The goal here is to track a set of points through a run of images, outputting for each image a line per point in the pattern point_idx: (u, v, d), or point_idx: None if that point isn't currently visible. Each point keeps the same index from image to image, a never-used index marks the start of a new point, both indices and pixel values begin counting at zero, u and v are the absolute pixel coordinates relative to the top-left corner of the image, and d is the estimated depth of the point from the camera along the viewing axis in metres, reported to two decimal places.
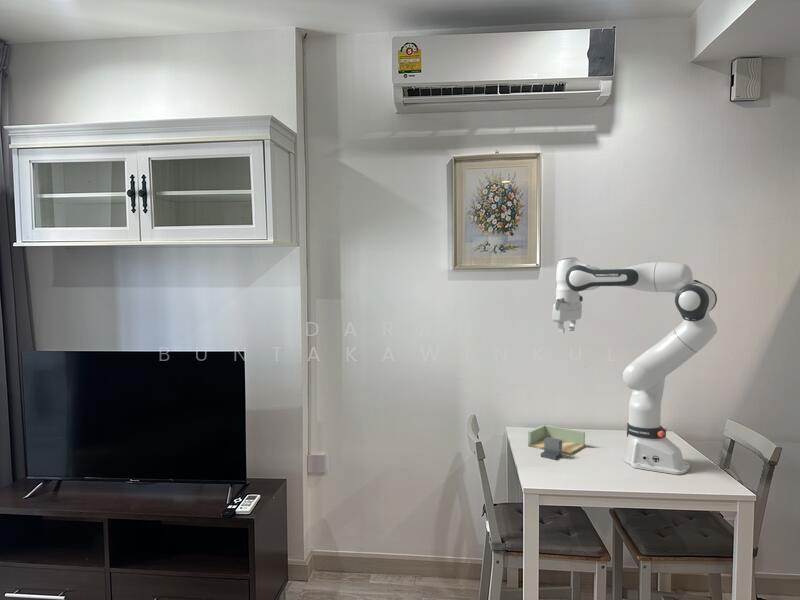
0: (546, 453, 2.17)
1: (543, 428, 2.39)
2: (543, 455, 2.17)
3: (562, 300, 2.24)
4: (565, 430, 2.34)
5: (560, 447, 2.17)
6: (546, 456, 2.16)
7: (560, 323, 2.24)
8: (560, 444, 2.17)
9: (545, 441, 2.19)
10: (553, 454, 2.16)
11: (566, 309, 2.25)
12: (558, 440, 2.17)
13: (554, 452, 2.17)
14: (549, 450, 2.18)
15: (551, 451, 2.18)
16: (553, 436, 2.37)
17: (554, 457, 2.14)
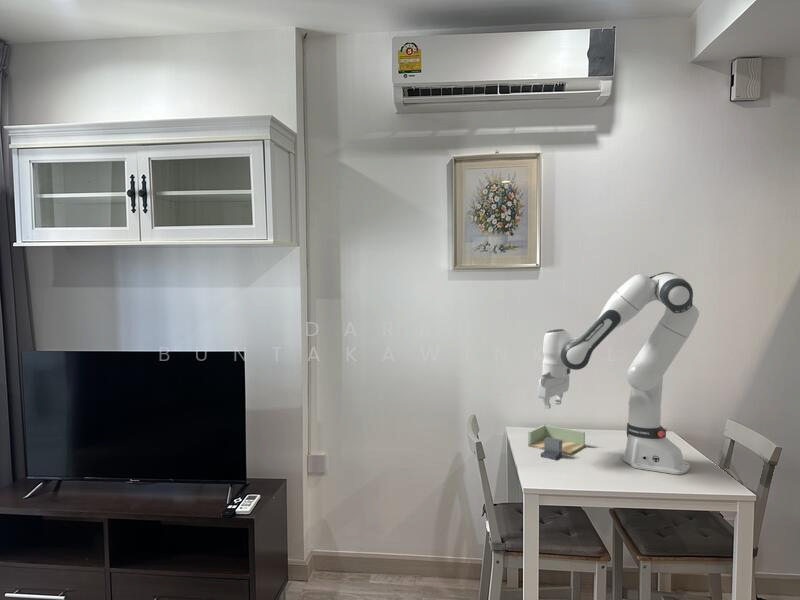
0: (546, 453, 2.17)
1: (543, 428, 2.39)
2: (543, 455, 2.17)
3: (548, 375, 2.13)
4: (565, 430, 2.34)
5: (560, 447, 2.17)
6: (546, 456, 2.16)
7: (546, 399, 2.13)
8: (560, 444, 2.17)
9: (545, 441, 2.19)
10: (553, 454, 2.16)
11: (552, 384, 2.14)
12: (558, 440, 2.17)
13: (554, 452, 2.17)
14: (549, 450, 2.18)
15: (551, 451, 2.18)
16: (553, 436, 2.37)
17: (554, 457, 2.14)
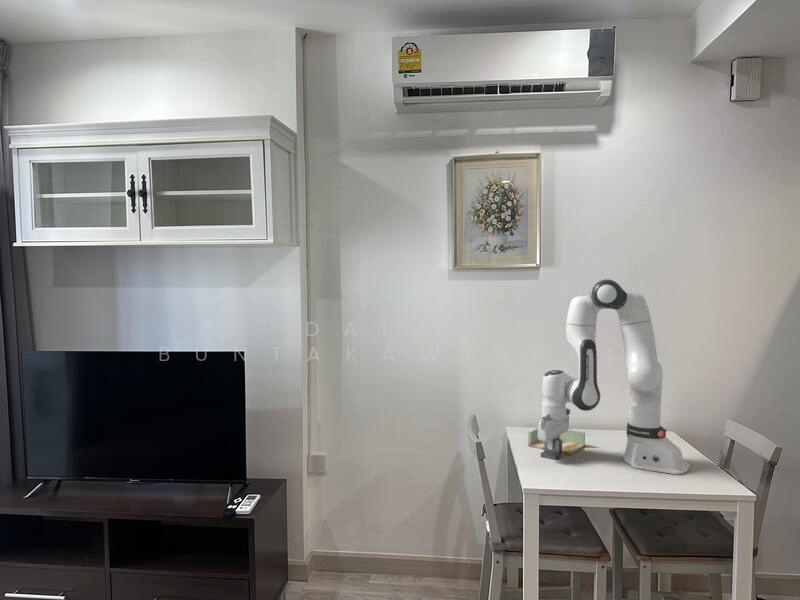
0: (546, 453, 2.17)
1: None
2: (543, 455, 2.17)
3: (548, 417, 2.14)
4: None
5: (560, 447, 2.17)
6: (546, 455, 2.16)
7: (549, 440, 2.15)
8: (560, 444, 2.17)
9: None
10: (553, 454, 2.16)
11: (552, 426, 2.14)
12: (558, 440, 2.17)
13: (554, 452, 2.17)
14: (549, 450, 2.18)
15: (551, 451, 2.18)
16: None
17: (554, 457, 2.14)
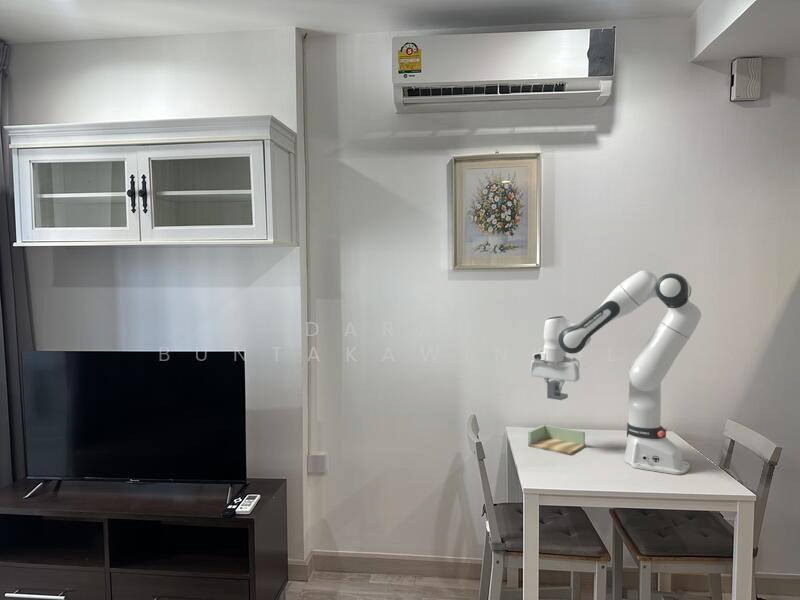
0: (560, 395, 2.26)
1: (543, 428, 2.39)
2: (562, 397, 2.25)
3: None
4: (565, 430, 2.34)
5: None
6: (564, 397, 2.26)
7: (563, 381, 2.27)
8: None
9: (554, 385, 2.26)
10: (561, 394, 2.29)
11: None
12: (556, 380, 2.31)
13: (558, 392, 2.29)
14: (556, 392, 2.28)
15: (557, 392, 2.28)
16: (553, 436, 2.37)
17: (567, 395, 2.29)
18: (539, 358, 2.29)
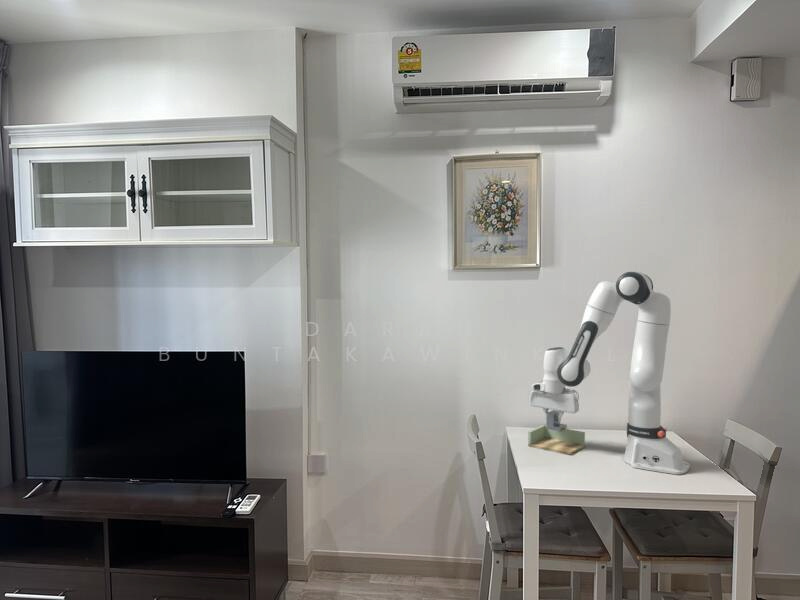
0: (559, 426, 2.27)
1: (543, 428, 2.39)
2: (561, 428, 2.26)
3: None
4: (565, 430, 2.34)
5: None
6: (563, 428, 2.27)
7: (563, 412, 2.27)
8: None
9: (554, 416, 2.27)
10: (561, 424, 2.29)
11: None
12: (556, 411, 2.31)
13: (558, 423, 2.30)
14: (555, 423, 2.28)
15: (556, 423, 2.29)
16: (553, 436, 2.37)
17: (566, 426, 2.29)
18: (538, 389, 2.30)
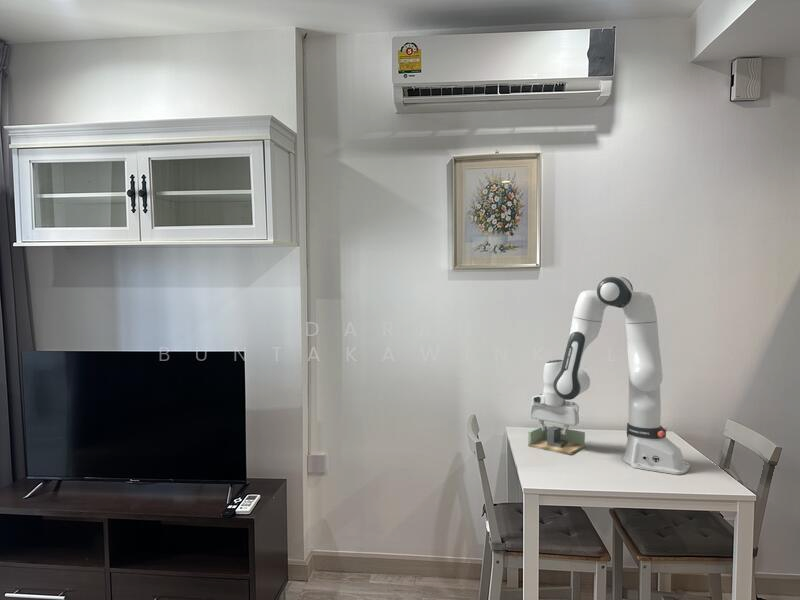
0: (560, 442, 2.27)
1: None
2: (562, 445, 2.26)
3: None
4: None
5: None
6: (563, 444, 2.27)
7: (568, 425, 2.26)
8: None
9: (554, 432, 2.27)
10: (561, 440, 2.30)
11: None
12: (556, 427, 2.32)
13: (558, 439, 2.30)
14: (556, 439, 2.29)
15: (557, 439, 2.29)
16: None
17: (566, 442, 2.29)
18: (539, 401, 2.30)
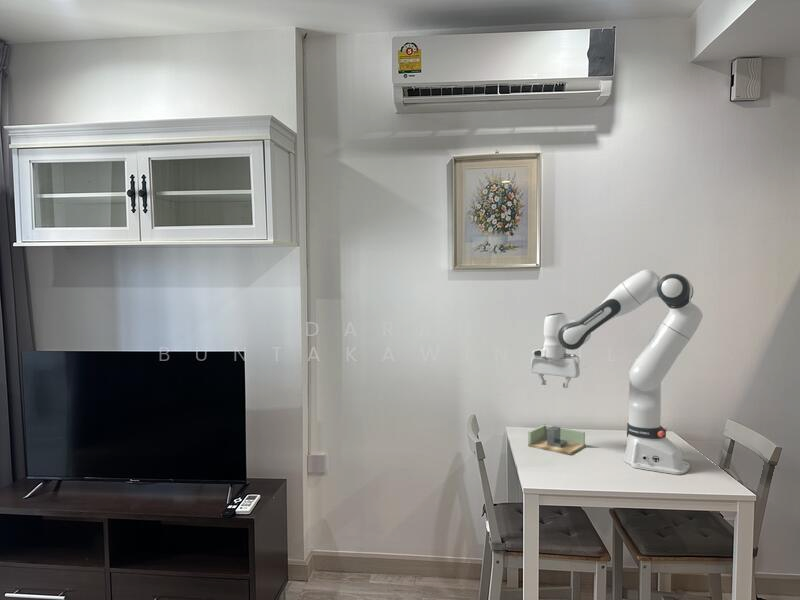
0: (560, 442, 2.27)
1: (543, 428, 2.39)
2: (562, 445, 2.26)
3: None
4: (565, 430, 2.34)
5: None
6: (563, 444, 2.27)
7: (570, 378, 2.26)
8: None
9: (554, 432, 2.27)
10: (561, 440, 2.30)
11: None
12: (556, 427, 2.32)
13: (558, 439, 2.30)
14: (556, 439, 2.29)
15: (557, 439, 2.29)
16: None
17: (566, 442, 2.29)
18: (539, 355, 2.30)
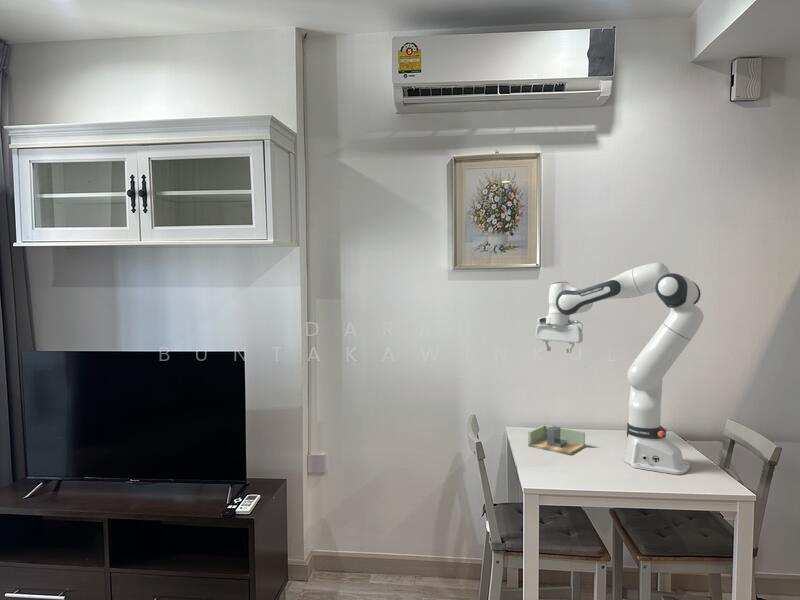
0: (560, 442, 2.27)
1: (543, 428, 2.39)
2: (562, 445, 2.26)
3: None
4: (565, 430, 2.34)
5: None
6: (563, 444, 2.27)
7: (573, 344, 2.36)
8: None
9: (554, 432, 2.27)
10: (561, 440, 2.30)
11: None
12: (556, 427, 2.32)
13: (558, 439, 2.30)
14: (556, 439, 2.29)
15: (557, 439, 2.29)
16: None
17: (566, 442, 2.29)
18: (544, 322, 2.41)
